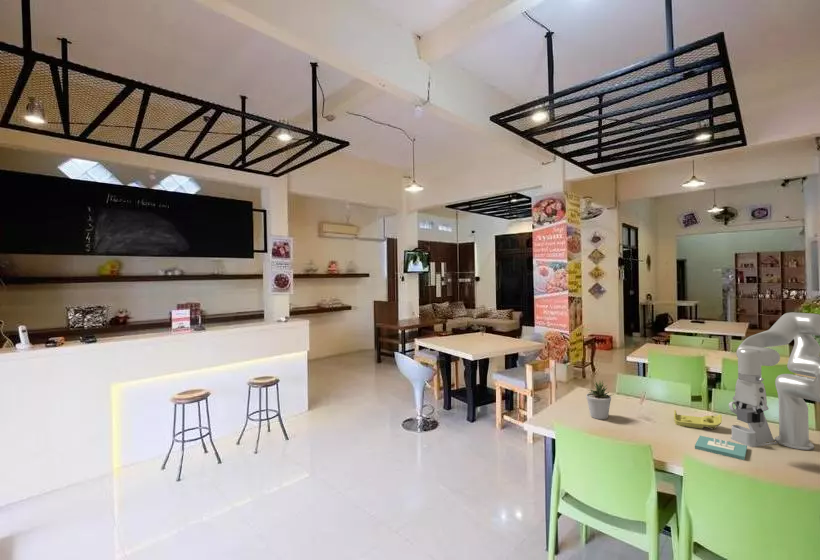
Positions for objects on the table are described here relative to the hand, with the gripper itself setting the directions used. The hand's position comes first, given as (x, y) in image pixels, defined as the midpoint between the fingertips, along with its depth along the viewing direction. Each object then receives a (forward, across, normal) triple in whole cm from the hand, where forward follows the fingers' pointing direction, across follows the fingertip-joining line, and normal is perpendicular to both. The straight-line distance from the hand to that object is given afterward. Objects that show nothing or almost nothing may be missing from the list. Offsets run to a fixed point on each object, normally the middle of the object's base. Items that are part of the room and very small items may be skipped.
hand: (750, 419), depth 166 cm
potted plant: (+16, +55, +32) cm, 66 cm away
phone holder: (+16, +12, -16) cm, 26 cm away
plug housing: (0, 0, 0) cm, 0 cm away
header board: (+16, +8, +6) cm, 19 cm away
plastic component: (+16, +32, -7) cm, 37 cm away
